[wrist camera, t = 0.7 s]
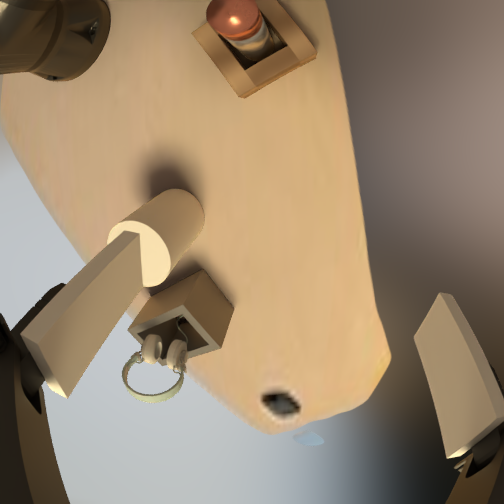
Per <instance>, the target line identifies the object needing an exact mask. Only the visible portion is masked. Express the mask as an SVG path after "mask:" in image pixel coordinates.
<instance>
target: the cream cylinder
mask: <svg viewBox="0 0 504 504" xmlns="http://www.w3.org/2000/svg"><path fill="white" fill-rule="evenodd" d="M203 226H204V212H203V209H202V206H201V204H200V203H199V201H198V200H197V199H196V198H195V197H194V196H193V195H192V194H190V193H189V192H187V191H185V190H182V189H168V190H166V191H164V192H162V193H160V194H159V195H158V196H156V197H155V198H153V199H152V200H150V201H149V202H147V203H146V204H145V205H143V206H142V207H140V208H139V209H137V210H136V211H135V212H133V213H132V214H130V215H129V216H128V217H126V218H125V219H124V220H122V221H121V222H120V223H118V224H117V225H116V226H114V227H113V229H112V230H111V232H110V233H109V236H108V241H107V245H108V244H110V243H111V242H112V241H113V240H114V239H115V238H116V237H117V236H119V235H120V234H121V233H122V232H123V231H124V230H125V231H130V232H135V233H140V248H141V265H142V278H143V287H152V286H156V285H159V284H160V283H162V282H163V281H164V280H165V279H166V278H167V276H168V275H169V274H170V272H171V271H172V269H173V268H174V267H175V265H176V264H177V263H178V261H179V260H180V259H181V257H182V256H183V255H184V253H185V252H186V251H187V249H188V248H189V247H190V245H191V244H192V243H193V241H194V240H195V239H196V238H197V236H198V235H199V234H200V232H201V231H202V229H203Z"/></svg>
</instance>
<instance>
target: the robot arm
mask: <svg viewBox="0 0 504 504" xmlns="http://www.w3.org/2000/svg"><path fill="white" fill-rule="evenodd" d="M109 27H110V14H109V10H108V7H107V6H106V4H105V3H104V2H103V1H102V0H0V74H9V73H20V72H30V73H33V74H35V75H37V76H40V77H42V78H44V79H47V80H49V81H69V80H72V79H75V78H77V77H78V76H80V75H81V74H83V73H84V72H85V71H86V70H87V69H88V68H89V67H90V66H91V65H92V64H93V63H94V61H95V60H96V59H97V57H98V56H99V54H100V52H101V51H102V49H103V47H104V44H105V42H106V39H107V36H108V32H109ZM142 288H143V278H142V265H141V248H140V233H135V232H130V231H125V230H124V231H123V232H122V233H121V234H120V235H119V236H117V237H116V238H115V239H114V240H113V241H112V242H111V243H110V244H108V245H107V246H106V247H105V248H104V249H103V250H102V251H101V252H100V253H99V254H97V255H96V256H95V257H94V258H93V259H92V260H91V261H90V262H89V263H88V264H87V265H86V266H85V267H84V268H83V269H82V270H81V271H80V272H78V274H77V275H75V276H74V277H73V278H72V279H71V280H70V281H69V282H68V283H67V284H64V283H60V284H59V285H57V286H55V287H53V288H51V289H50V290H49V291H48V292H47V293H46V294H45V295H44V296H43V297H42V299H41V300H39V301H38V302H37V303H36V304H35V307H32V308H31V309H30V310H29V311H28V312H27V314H26V315H25V316H24V317H23V318H22V319H21V320H20V321H19V322H18V323H17V324H16V325H15V327H14V328H13V329H12V330H11V331H10V329H9V327H8V325H7V323H6V321H5V319H4V317H3V316H2V314H1V313H0V504H70V502H69V500H68V497H67V494H66V491H65V488H64V484H63V481H62V478H61V475H60V471H59V468H58V464H57V461H56V456H55V453H54V448H53V444H52V439H51V435H50V429H49V424H48V419H47V413H46V407H45V400H44V392H43V389H42V386H41V385H42V384H43V382H44V381H46V382H47V384H48V385H49V387H50V389H51V390H53V391H54V392H56V393H58V394H60V395H62V396H64V397H65V398H68V397H69V396H70V394H71V393H72V391H73V389H74V388H75V386H76V384H77V383H78V381H79V380H80V378H81V377H82V375H83V373H84V372H85V370H86V369H87V367H88V365H89V364H90V362H91V361H92V359H93V358H94V356H95V355H96V353H97V352H98V350H99V349H100V347H101V346H102V344H103V343H104V341H105V340H106V338H107V337H108V335H109V334H110V333H111V331H112V329H113V328H114V327H115V325H116V324H117V322H118V321H119V319H120V318H121V317H122V315H123V314H124V312H125V311H126V310H127V308H128V307H129V305H130V304H131V303H132V301H133V300H134V298H135V297H136V296H137V294H138V293H139V292H140V290H141V289H142ZM414 340H415V343H416V346H417V348H418V352H419V354H420V358H421V361H422V363H423V367H424V370H425V373H426V376H427V380H428V383H429V387H430V390H431V393H432V397H433V401H434V404H435V408H436V412H437V416H438V420H439V424H440V428H441V433H442V437H443V442H444V447H445V452H446V457H447V458H451V457H456V456H461V455H462V454H464V453H465V452H466V451H468V450H469V449H470V448H472V452H473V453H472V454H470V455H469V456H468V457H466V458H465V459H463V460H462V461H461V462H459V463H458V464H456V466H455V467H454V468H455V469H457V468H458V467H460V466H461V465H463V464H464V466H463V467H462V468H460V469H459V471H460V472H461V474H460V476H459V478H458V480H457V482H456V484H455V486H454V488H453V490H452V492H451V494H450V496H449V498H448V500H447V502H446V504H504V390H503V389H502V386H501V383H500V381H498V380H499V379H498V377H497V374H496V372H495V370H494V368H493V367H492V366H491V365H490V363H489V362H488V361H487V359H486V357H485V355H484V353H483V351H482V349H481V347H480V345H479V343H478V341H477V339H476V337H475V335H474V333H473V331H472V329H471V328H470V326H469V324H468V322H467V320H466V319H465V317H464V315H463V313H462V312H461V310H460V308H459V306H458V305H457V303H456V301H455V300H454V298H453V296H452V295H450V294H445V293H439V294H438V296H437V298H436V300H435V302H434V303H433V305H432V307H431V309H430V311H429V313H428V314H427V316H426V318H425V319H424V321H423V323H422V325H421V326H420V328H419V329H418V331H417V333H416V334H415V336H414Z"/></svg>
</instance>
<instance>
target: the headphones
mask: <svg viewBox="0 0 504 504" xmlns="http://www.w3.org/2000/svg"><path fill="white" fill-rule="evenodd" d="M181 317H183V315H182V316H180V317H179V318H178V319H177V322H176V324H177V327H178V329H179V330H180V331H181V332H182V333H183V334H184V336H185V337H186V340H187V341H186V342H185V341H182V340H177V339H176V340H174V341H173V342H172V343H171V345H170V346H169V349H168V353H167V365H168V367H169V368H170V369H173V371H174V370H178V371H179V372H181V374H180V373H179V372H175V371H174V373H179V374H180V378H179V380H178V381H177V383H176V384H175V385H174V386H173V387H172V388H170V389H169V390H167V391H165V392H163V393H160V394H154V395H149V394H142V393H138V392H136V391H134V390H133V389H132V388H131V387H130V386H129V385H128V383H127V375H128V371H129V369H130V368H131V366H132V365H133V364H134V363H142V362H143V361H145V362H147V363H150V364H154V363H156V362H157V361H158V359H159V357H160V355H161V351H162V339H161V337H160V336H159V335H152V334H150V335H148V336H147V337H146V339H145V340H144V342H143V343H142V346H141V351H139V352H136V353H134V355H132V356H131V359H129V361H128V362H127V363H126V364H125V366H124V368H123V371H122V378H123V382H124V384H125V386H126V388H127V390H128V391H129V393H130V394H131V395H132V396H134V397H135V398H136V399H138V400H141V401H144V402H149V403H157V402H162V401H166V400H168V399H170V398H172V397H173V396H174V395H175V394H176V393H177V392H178V391H179V390H180V388H181V386H182V384H183V379H184V374H183V371H184V372H185V373H187V371H186V366H185V363H186V362H187V360H188V351H187V343H188V338H187V336H186V335H185V333H184V332H183V331H182V330H181V329H180V328H179V326H178V320H179V319H180V318H181ZM141 352H142V354H139V353H141ZM141 356H142V359H141ZM141 360H142V361H141ZM137 361H141V362H137Z"/></svg>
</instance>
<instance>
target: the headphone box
mask: <svg viewBox="0 0 504 504" xmlns="http://www.w3.org/2000/svg"><path fill="white" fill-rule="evenodd" d="M233 311H234V308H233V307H232V305H231V304H230V303H229V301H228V300H227V299H226V298H225V296H224V295H223V294H222V293H221V291H220V290H219V289H218V287H217V286H216V285H215V283H214V282H213V281H212V280H211V278H210V277H209V276H208V274H207V273H206V272H205V270H204V269H202V270H200V271H198V272H197V273H195V274H193V275H191V276H189V277H187V278H185V279H183V280H181V281H179V282H178V283H176V284H174V285H172V286H170V287H168V288H166V289H164V290H162V291H161V292H159V293H157V294H155V295H153V296H151V297H150V298H149V300H148V301H147V303H146V304H145V305H144V307H143V308H142V310H141V311H140V312H139V314H138V315H137V317H136V318H135V320H134V321H133V323H132V324H131V325H130V327H129V328H128V331H129V332H130V333H131V334H132V336H133V337H134V338H135V339H136V340H137V341H138V342H139V343H140V344H141V345H142V343H143V342H144V340H145V339H146V337H147V336H148V335H150V334H152V335H159V336H160V337H161V339H162V351H161V355H160V357H159V359H158V362H159V363H160V364H161V365H162V366H164V365H167V353H168V349H169V346H170V345H171V343H172V342H173V341H174V340H176V339H177V340H182V341H185V342H186V341H187V340H186V337H185V336H184V334H183V333H182V332H181V331H180V330H179V329H178V327H177V324H176V322H177V319H176V318H175V317H177V316H179V315H183V316H184V317H185V318H186V319H187V320H188V321H187V322H185V323H182V324H180V323H179V322H178V326H179V328H180V329H181V330H182V331H183V332H184V333H185V335H186V336H187V338H188V343H187V351H188V358H192V357H195V356H198V355H202V354H205V353H208V352H211V351H214V350H217V349H220V348H221V347H222V344H223V341H224V338H225V335H226V332H227V329H228V326H229V323H230V320H231V317H232V314H233Z"/></svg>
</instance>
